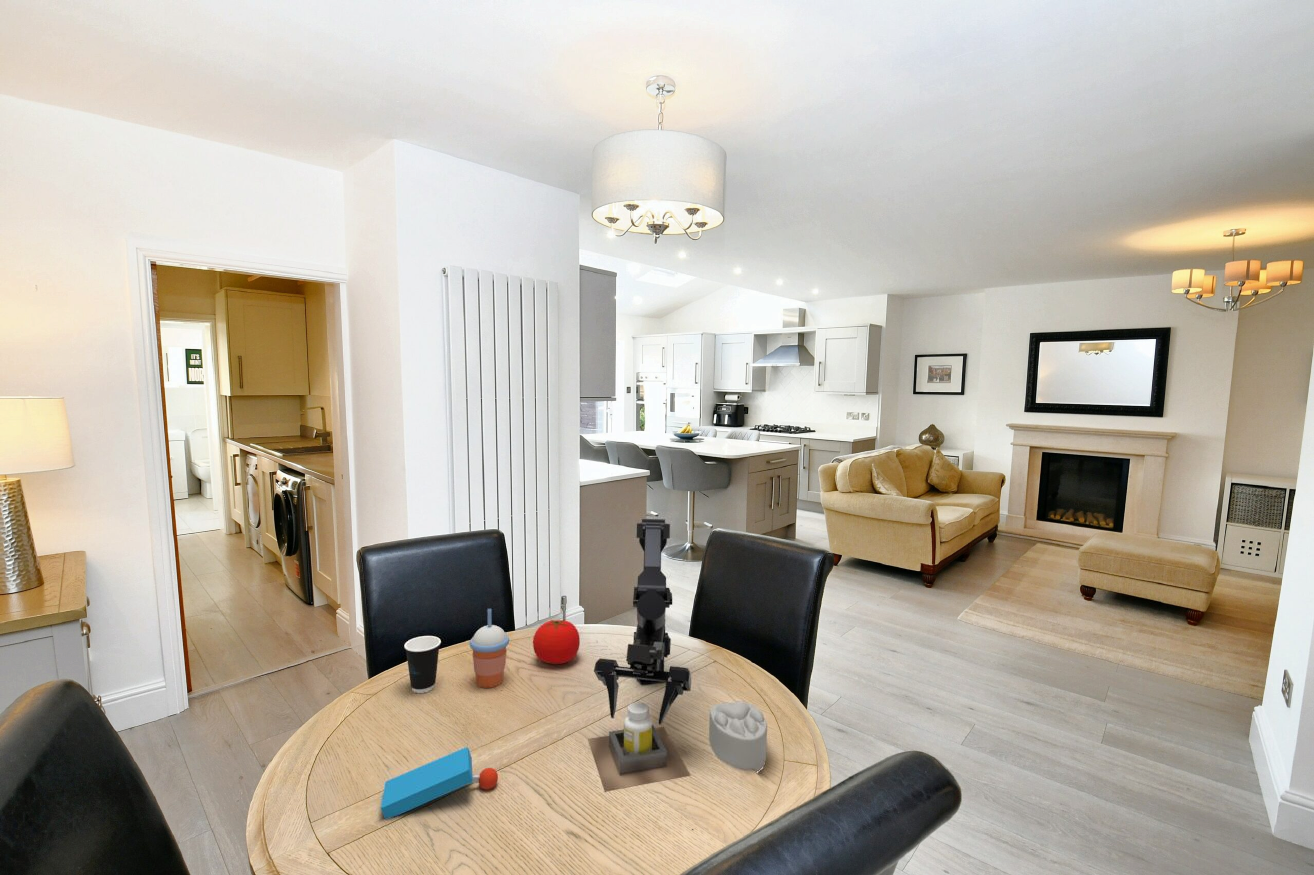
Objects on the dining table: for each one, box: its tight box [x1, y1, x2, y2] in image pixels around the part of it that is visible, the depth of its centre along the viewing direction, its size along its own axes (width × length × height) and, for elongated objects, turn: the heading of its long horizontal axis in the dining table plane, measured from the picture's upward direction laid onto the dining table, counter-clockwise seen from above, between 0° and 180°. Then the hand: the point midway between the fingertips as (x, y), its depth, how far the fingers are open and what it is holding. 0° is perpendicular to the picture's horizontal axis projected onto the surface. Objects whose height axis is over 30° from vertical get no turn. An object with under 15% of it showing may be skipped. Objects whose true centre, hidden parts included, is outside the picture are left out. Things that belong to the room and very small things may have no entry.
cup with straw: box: [469, 608, 510, 689], centre depth 142 cm, size 9×9×18 cm
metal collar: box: [608, 724, 667, 775], centre depth 113 cm, size 9×9×3 cm
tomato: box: [532, 619, 581, 665], centre depth 154 cm, size 12×12×10 cm
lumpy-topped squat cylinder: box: [708, 700, 768, 773], centre depth 116 cm, size 10×13×9 cm
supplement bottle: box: [623, 701, 653, 755], centre depth 113 cm, size 5×5×10 cm
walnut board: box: [587, 726, 692, 793], centre depth 113 cm, size 16×16×1 cm
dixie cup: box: [403, 635, 442, 694], centre depth 138 cm, size 8×8×11 cm
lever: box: [380, 746, 499, 819], centre depth 103 cm, size 7×7×18 cm
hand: (635, 720), depth 111 cm, fingers open, 9 cm apart
